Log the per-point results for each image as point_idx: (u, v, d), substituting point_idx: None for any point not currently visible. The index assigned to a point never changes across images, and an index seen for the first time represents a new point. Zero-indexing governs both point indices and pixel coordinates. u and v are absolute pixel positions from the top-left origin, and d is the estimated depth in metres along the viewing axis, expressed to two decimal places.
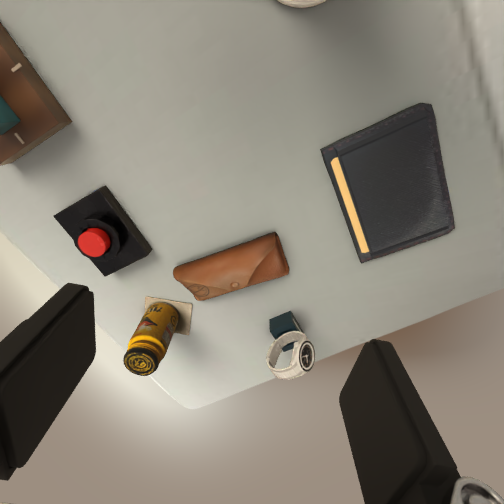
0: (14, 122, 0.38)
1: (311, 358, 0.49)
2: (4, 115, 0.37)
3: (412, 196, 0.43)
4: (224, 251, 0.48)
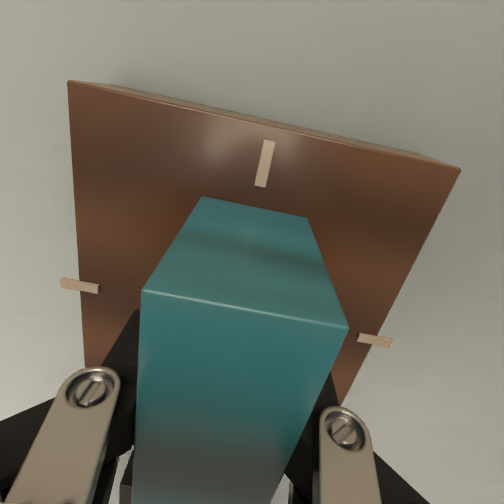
0: None
1: None
2: None
3: None
4: None
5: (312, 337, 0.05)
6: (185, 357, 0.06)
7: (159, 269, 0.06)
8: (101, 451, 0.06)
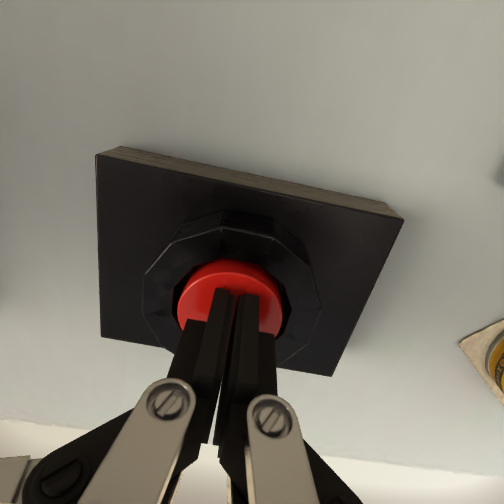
0: None
1: None
2: None
3: None
4: None
5: None
6: None
7: None
8: (169, 472, 0.06)
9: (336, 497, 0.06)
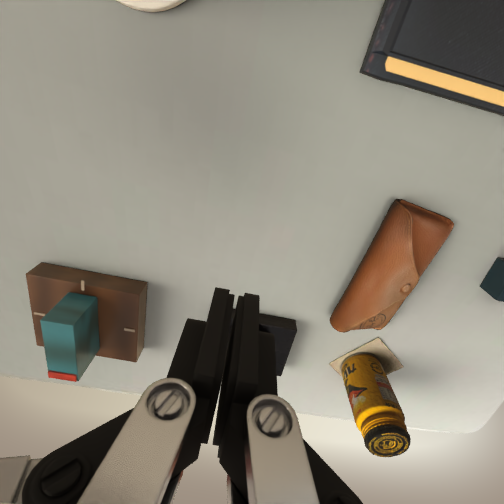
0: None
1: None
2: (92, 354, 0.40)
3: None
4: (361, 266, 0.36)
5: (68, 327, 0.34)
6: (49, 330, 0.34)
7: (44, 316, 0.34)
8: (169, 472, 0.06)
9: (336, 497, 0.06)
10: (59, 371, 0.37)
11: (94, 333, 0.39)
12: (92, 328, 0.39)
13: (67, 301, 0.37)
